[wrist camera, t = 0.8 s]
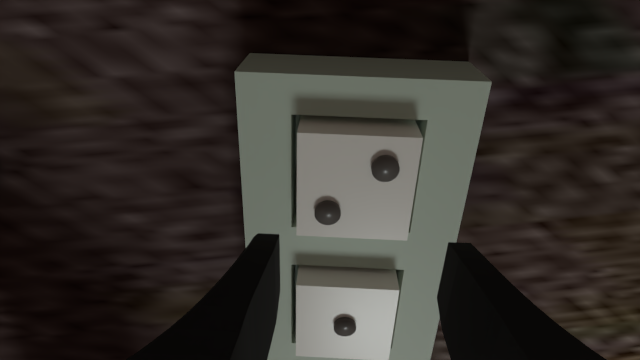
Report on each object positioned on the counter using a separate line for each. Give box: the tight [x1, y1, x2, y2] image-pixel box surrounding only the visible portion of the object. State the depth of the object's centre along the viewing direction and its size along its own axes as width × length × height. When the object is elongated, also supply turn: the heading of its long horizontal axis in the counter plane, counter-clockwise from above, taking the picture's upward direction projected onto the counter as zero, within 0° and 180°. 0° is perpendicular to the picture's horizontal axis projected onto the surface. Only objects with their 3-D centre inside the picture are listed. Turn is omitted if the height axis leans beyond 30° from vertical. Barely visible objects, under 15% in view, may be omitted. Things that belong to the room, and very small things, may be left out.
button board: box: [234, 53, 492, 360], centre depth 22 cm, size 9×22×3 cm, turn 178°
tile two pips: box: [296, 115, 423, 241], centre depth 17 cm, size 4×4×2 cm
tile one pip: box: [296, 265, 399, 360], centre depth 20 cm, size 4×4×2 cm
